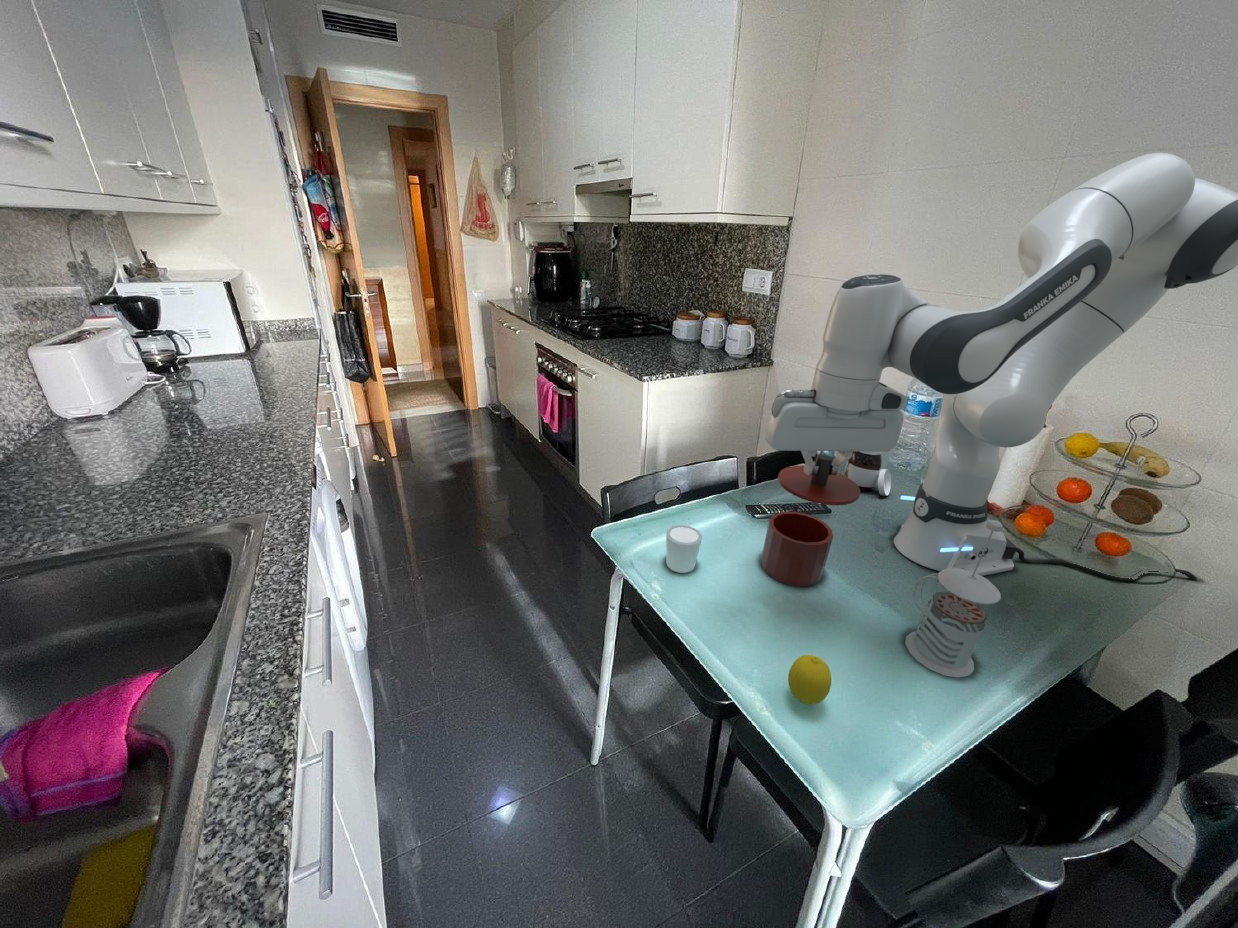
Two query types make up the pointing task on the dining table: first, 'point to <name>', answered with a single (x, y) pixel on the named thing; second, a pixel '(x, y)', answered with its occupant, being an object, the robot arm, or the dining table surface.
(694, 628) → the dining table surface
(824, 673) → the lemon
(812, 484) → the tin lid
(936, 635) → the french press
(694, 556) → the white cup
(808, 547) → the tin
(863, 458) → the spread jar
